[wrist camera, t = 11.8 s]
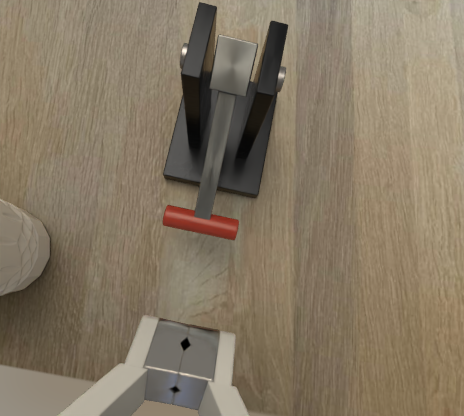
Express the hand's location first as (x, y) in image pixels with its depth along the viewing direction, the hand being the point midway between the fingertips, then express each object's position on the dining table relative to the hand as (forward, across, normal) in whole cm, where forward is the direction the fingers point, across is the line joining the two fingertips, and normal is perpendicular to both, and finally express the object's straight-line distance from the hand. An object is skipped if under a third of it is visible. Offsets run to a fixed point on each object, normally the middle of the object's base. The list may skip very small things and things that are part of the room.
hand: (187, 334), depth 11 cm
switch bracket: (+21, +1, +2) cm, 21 cm away
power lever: (+14, +1, -1) cm, 14 cm away
